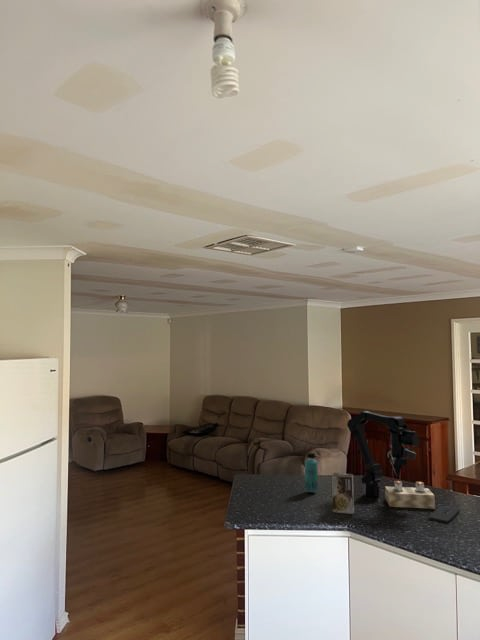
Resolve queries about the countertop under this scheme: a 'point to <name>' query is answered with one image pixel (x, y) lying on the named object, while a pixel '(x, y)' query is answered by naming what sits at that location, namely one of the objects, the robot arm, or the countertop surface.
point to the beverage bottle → (311, 473)
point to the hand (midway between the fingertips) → (397, 476)
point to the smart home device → (444, 514)
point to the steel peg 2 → (420, 487)
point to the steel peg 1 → (398, 486)
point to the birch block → (409, 498)
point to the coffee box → (343, 493)
